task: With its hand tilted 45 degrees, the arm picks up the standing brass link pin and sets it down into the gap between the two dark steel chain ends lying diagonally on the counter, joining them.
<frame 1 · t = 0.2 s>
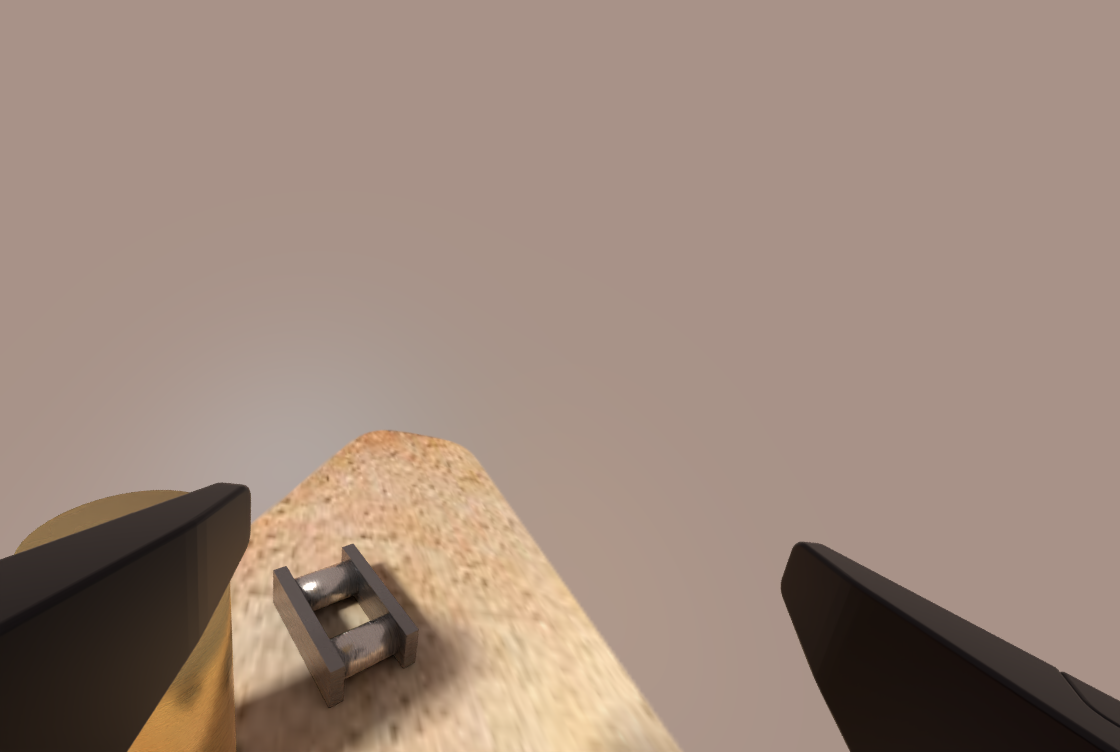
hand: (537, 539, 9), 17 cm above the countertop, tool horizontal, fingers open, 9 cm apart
chain end B: (341, 631, 26), on the countertop
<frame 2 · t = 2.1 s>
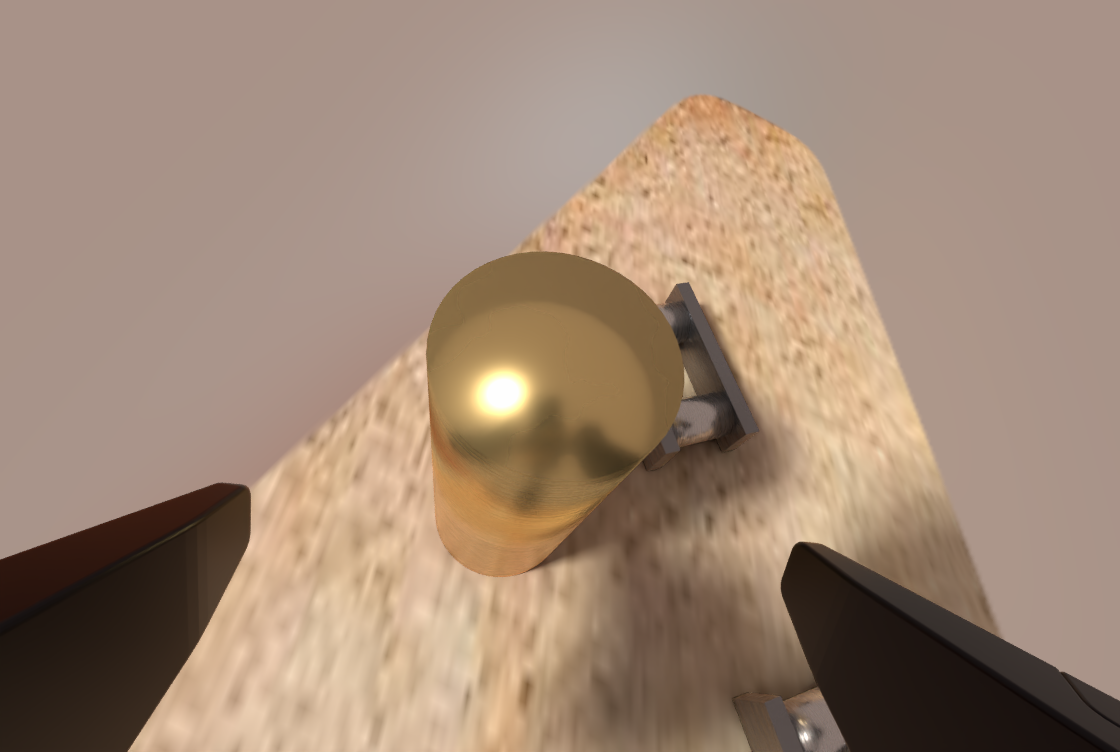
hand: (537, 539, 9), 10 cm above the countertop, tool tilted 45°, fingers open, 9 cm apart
link pin: (501, 508, 19), on the countertop
chain end B: (660, 382, 23), on the countertop
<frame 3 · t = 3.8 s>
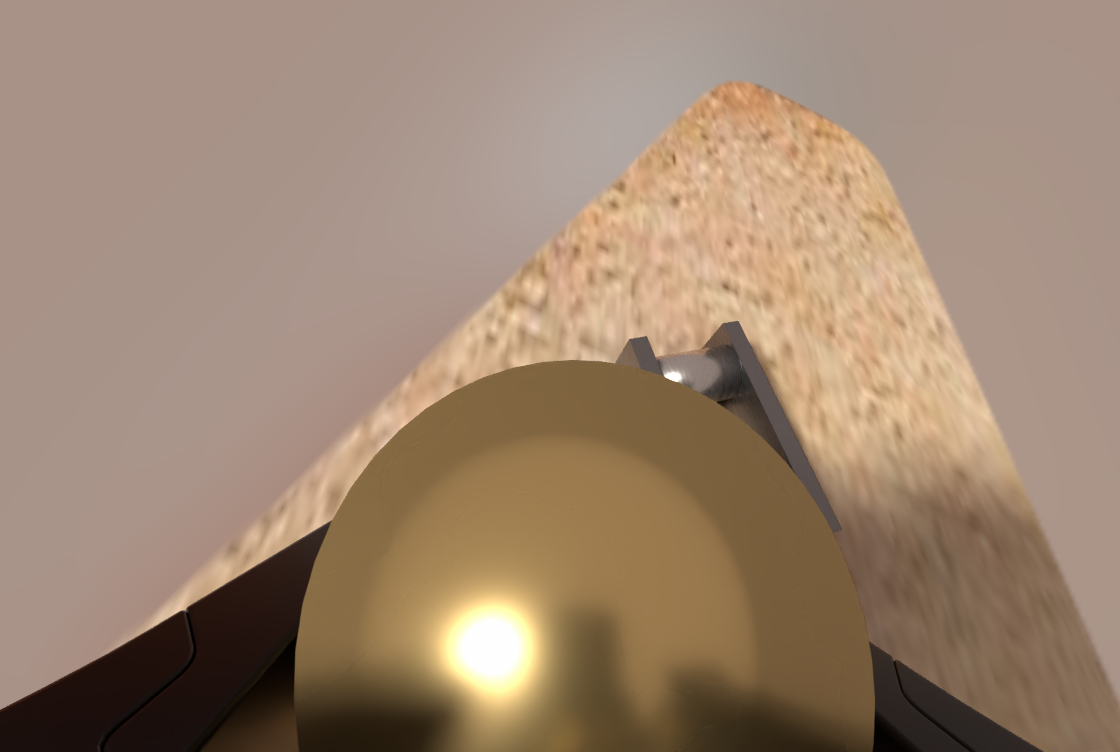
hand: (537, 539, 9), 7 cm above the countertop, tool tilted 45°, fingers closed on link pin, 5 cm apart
link pin: (495, 642, 14), on the countertop, touching gripper
chain end B: (701, 451, 18), on the countertop
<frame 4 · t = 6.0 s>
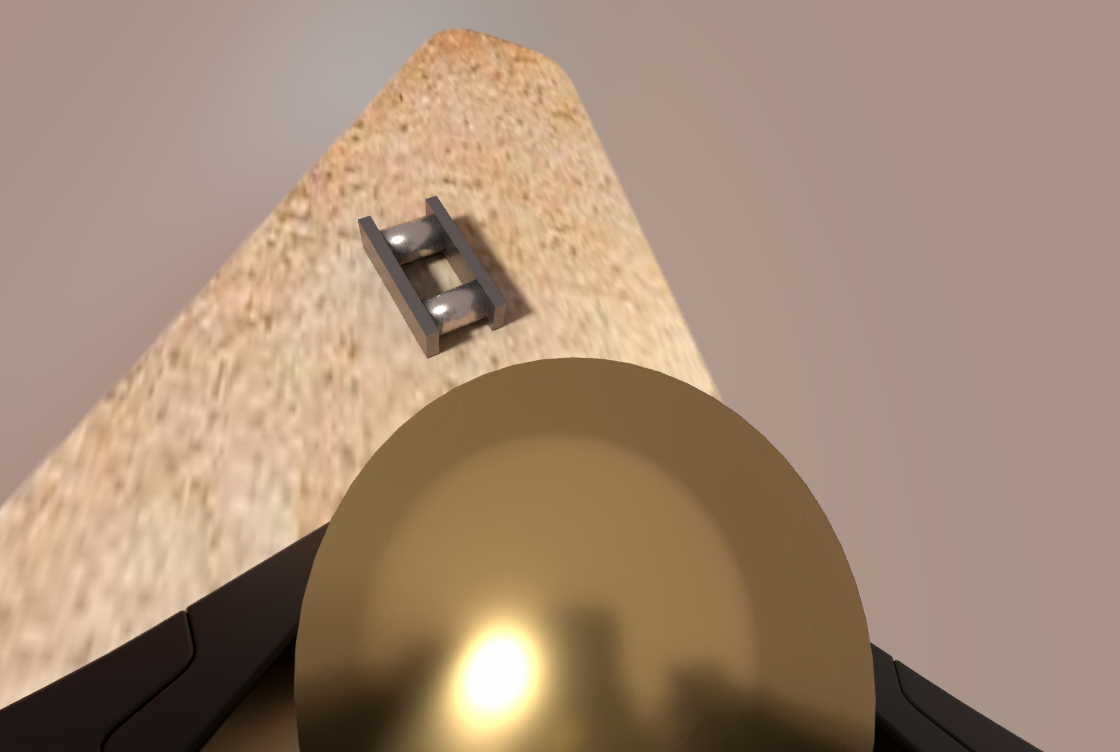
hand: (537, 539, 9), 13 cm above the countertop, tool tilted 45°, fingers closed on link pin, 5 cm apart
link pin: (495, 641, 14), point 7 cm above the countertop, touching gripper
chain end B: (432, 286, 26), on the countertop
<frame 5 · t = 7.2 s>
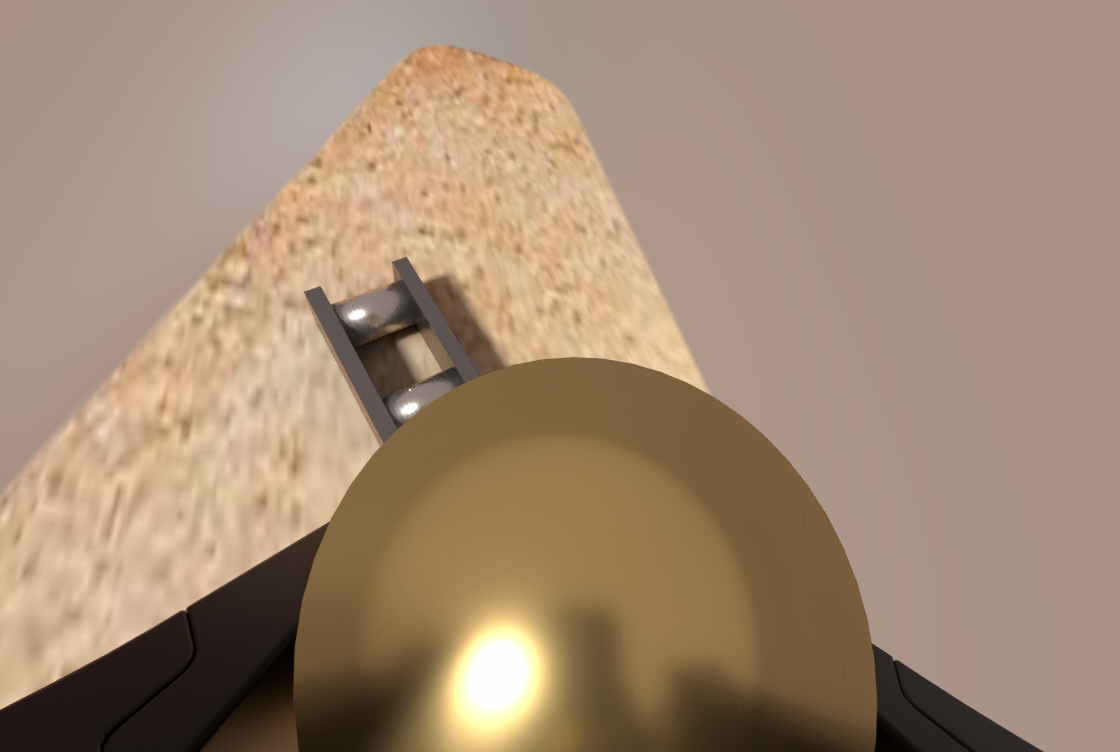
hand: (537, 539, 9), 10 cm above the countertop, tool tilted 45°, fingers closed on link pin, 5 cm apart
link pin: (495, 641, 14), point 4 cm above the countertop, touching gripper
chain end B: (401, 370, 21), on the countertop
when the fingers open (8 cm above the countertop, at t = 8.3 s): link pin drops 2 cm, on the countertop.
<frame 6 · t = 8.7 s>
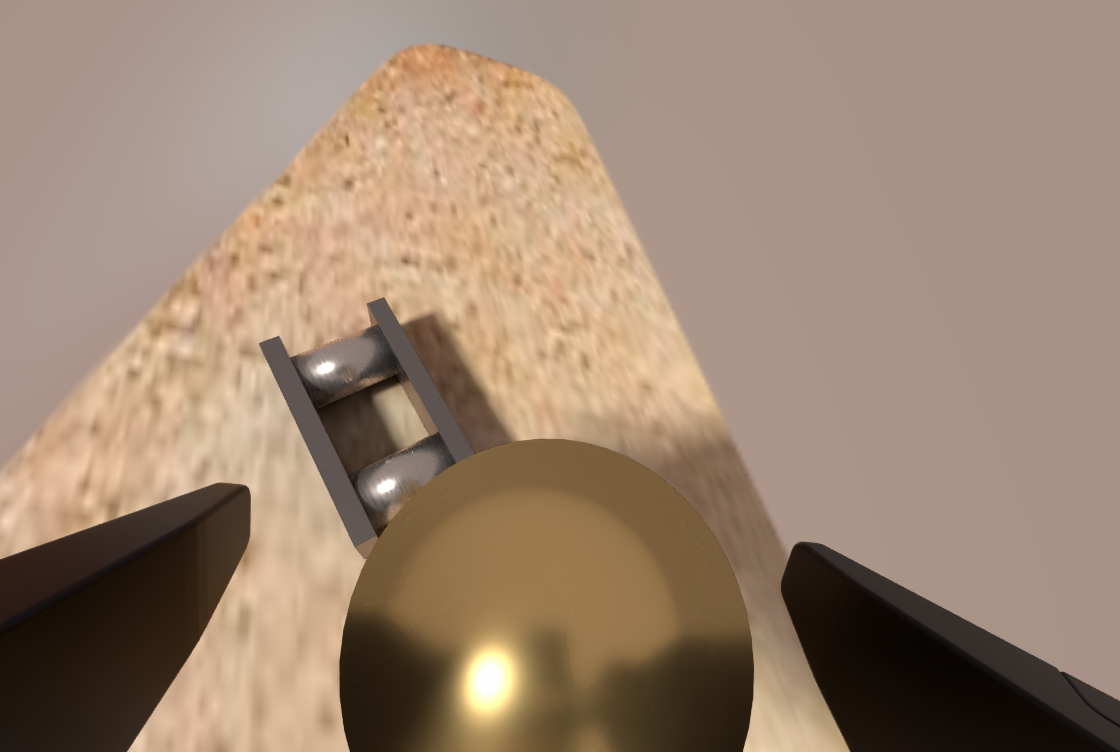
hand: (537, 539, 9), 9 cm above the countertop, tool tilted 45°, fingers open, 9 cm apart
link pin: (488, 646, 16), on the countertop
chain end B: (378, 432, 18), on the countertop
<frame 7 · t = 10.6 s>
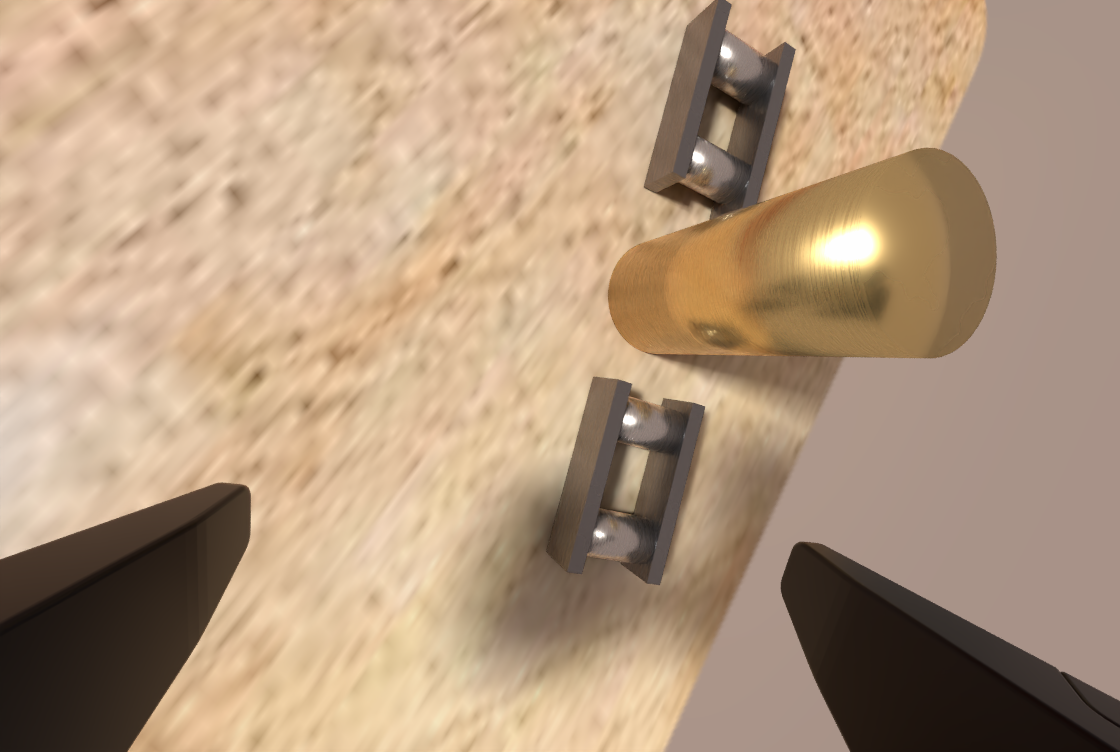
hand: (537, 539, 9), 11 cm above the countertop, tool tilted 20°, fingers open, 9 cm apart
chain end A: (613, 473, 22), on the countertop
link pin: (657, 297, 22), on the countertop
chain end B: (704, 127, 22), on the countertop
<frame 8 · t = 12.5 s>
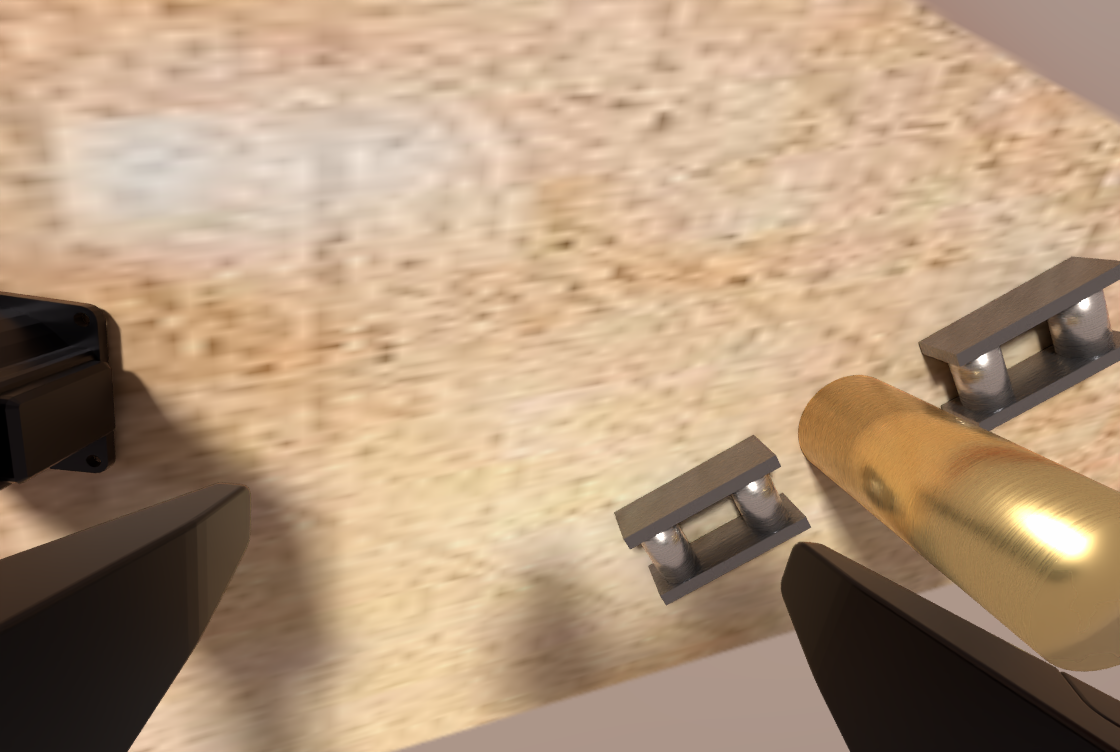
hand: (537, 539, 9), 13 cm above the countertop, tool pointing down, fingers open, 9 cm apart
chain end A: (702, 507, 24), on the countertop
link pin: (848, 424, 24), on the countertop
chain end B: (1006, 339, 23), on the countertop
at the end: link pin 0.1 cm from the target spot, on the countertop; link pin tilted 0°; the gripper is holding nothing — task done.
